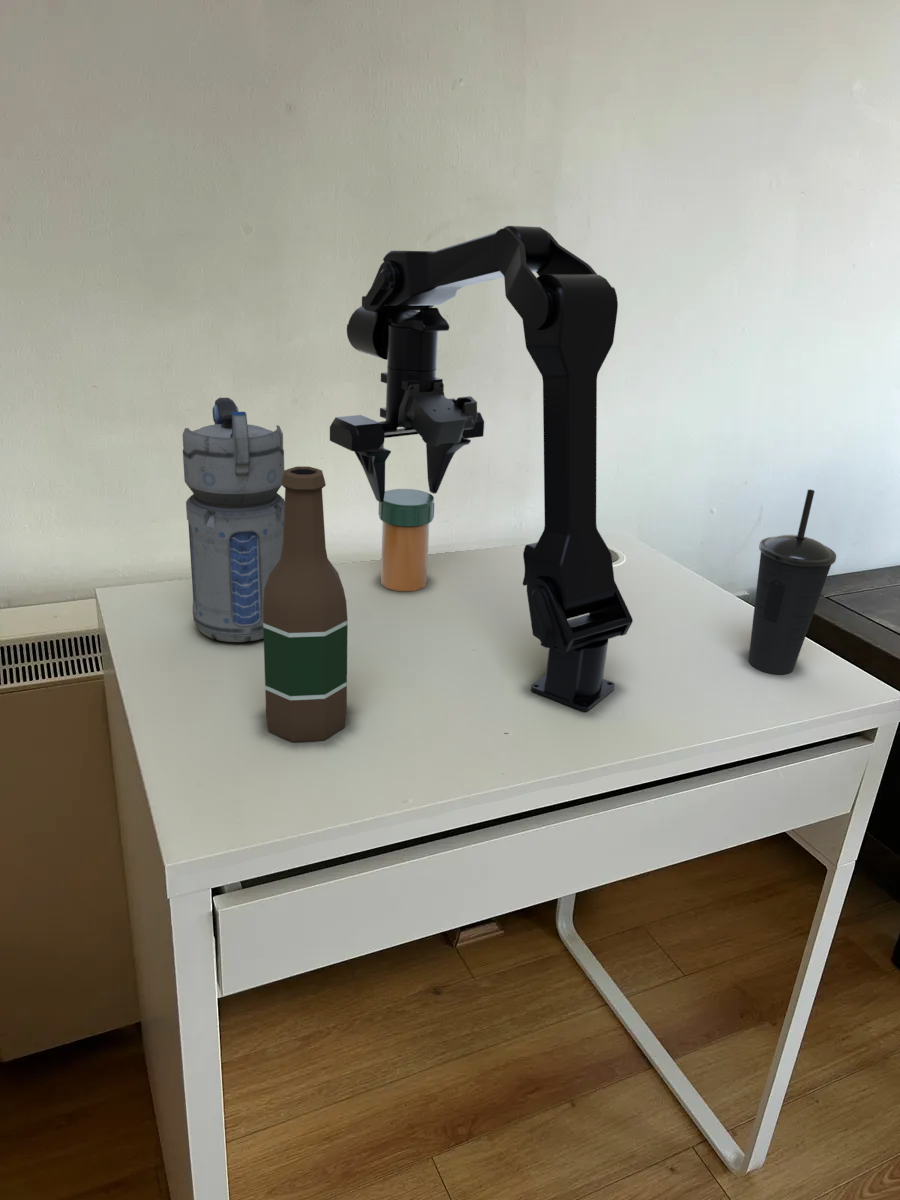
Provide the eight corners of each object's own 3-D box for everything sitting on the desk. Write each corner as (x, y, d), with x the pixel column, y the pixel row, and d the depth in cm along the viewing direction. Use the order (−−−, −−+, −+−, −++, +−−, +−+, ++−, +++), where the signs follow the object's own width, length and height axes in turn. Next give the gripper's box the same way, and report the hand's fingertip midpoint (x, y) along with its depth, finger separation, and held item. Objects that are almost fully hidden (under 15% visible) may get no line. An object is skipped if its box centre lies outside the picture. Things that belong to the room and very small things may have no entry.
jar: (418, 594, 111) (422, 510, 107) (374, 587, 113) (376, 504, 108) (431, 577, 117) (436, 497, 112) (389, 571, 118) (392, 491, 114)
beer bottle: (333, 751, 79) (333, 489, 69) (249, 737, 80) (239, 478, 71) (358, 707, 86) (362, 463, 76) (281, 695, 88) (276, 453, 78)
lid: (423, 529, 107) (424, 508, 106) (371, 522, 109) (371, 500, 108) (439, 513, 113) (440, 493, 112) (389, 506, 115) (390, 485, 114)
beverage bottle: (273, 596, 109) (268, 387, 98) (297, 644, 97) (294, 414, 87) (186, 604, 105) (172, 388, 95) (200, 655, 94) (185, 417, 84)
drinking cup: (817, 683, 96) (863, 504, 88) (746, 679, 96) (785, 499, 88) (794, 650, 103) (834, 481, 95) (727, 646, 103) (762, 477, 95)
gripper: (380, 385, 93) (376, 528, 99) (518, 374, 103) (507, 504, 109) (327, 367, 101) (327, 500, 107) (460, 358, 111) (453, 480, 117)
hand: (407, 496), depth 110 cm, fingers open, 7 cm apart
